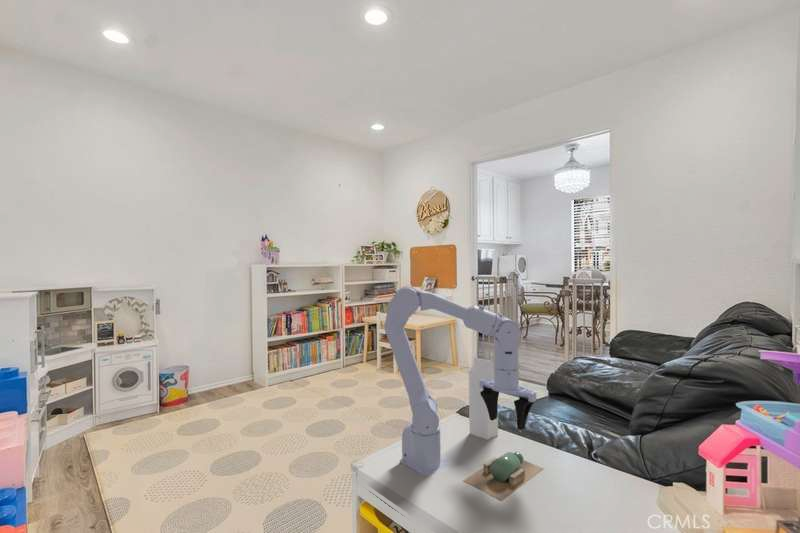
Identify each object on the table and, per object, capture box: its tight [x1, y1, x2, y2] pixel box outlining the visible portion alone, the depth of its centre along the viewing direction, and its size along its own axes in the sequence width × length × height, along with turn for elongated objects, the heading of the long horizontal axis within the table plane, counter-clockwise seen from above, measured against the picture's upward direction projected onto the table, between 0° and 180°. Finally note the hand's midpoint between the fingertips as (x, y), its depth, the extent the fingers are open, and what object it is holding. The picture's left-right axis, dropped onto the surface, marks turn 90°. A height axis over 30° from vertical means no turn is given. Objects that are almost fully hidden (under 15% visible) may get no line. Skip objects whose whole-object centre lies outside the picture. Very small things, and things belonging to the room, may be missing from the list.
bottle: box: [490, 451, 525, 482], centre depth 87 cm, size 4×4×9 cm
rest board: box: [462, 456, 545, 502], centre depth 87 cm, size 10×18×2 cm, turn 132°
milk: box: [468, 357, 499, 441], centre depth 108 cm, size 6×6×22 cm
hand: (506, 423), depth 91 cm, fingers open, 7 cm apart
